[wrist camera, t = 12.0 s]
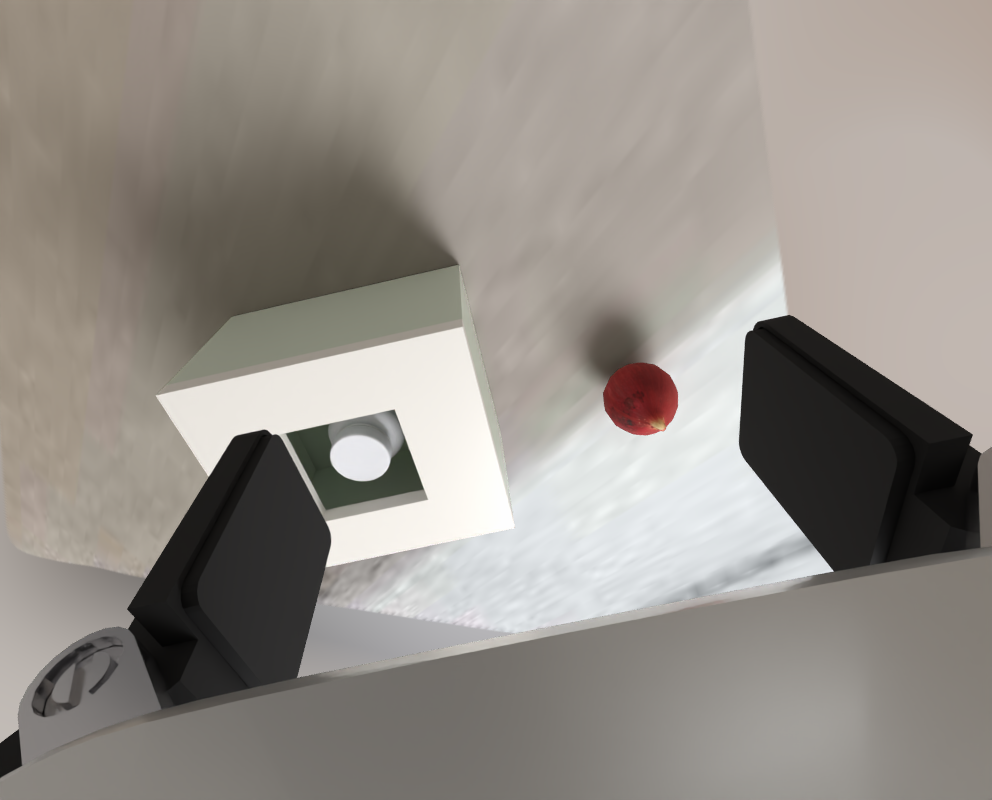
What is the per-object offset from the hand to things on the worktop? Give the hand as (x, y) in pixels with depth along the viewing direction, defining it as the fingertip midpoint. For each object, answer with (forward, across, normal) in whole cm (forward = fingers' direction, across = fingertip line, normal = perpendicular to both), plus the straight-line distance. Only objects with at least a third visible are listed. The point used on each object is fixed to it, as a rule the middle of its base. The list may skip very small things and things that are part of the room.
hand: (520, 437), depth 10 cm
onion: (+30, -10, +18) cm, 37 cm away
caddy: (+30, +11, +13) cm, 35 cm away
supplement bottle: (+29, +11, +13) cm, 34 cm away
